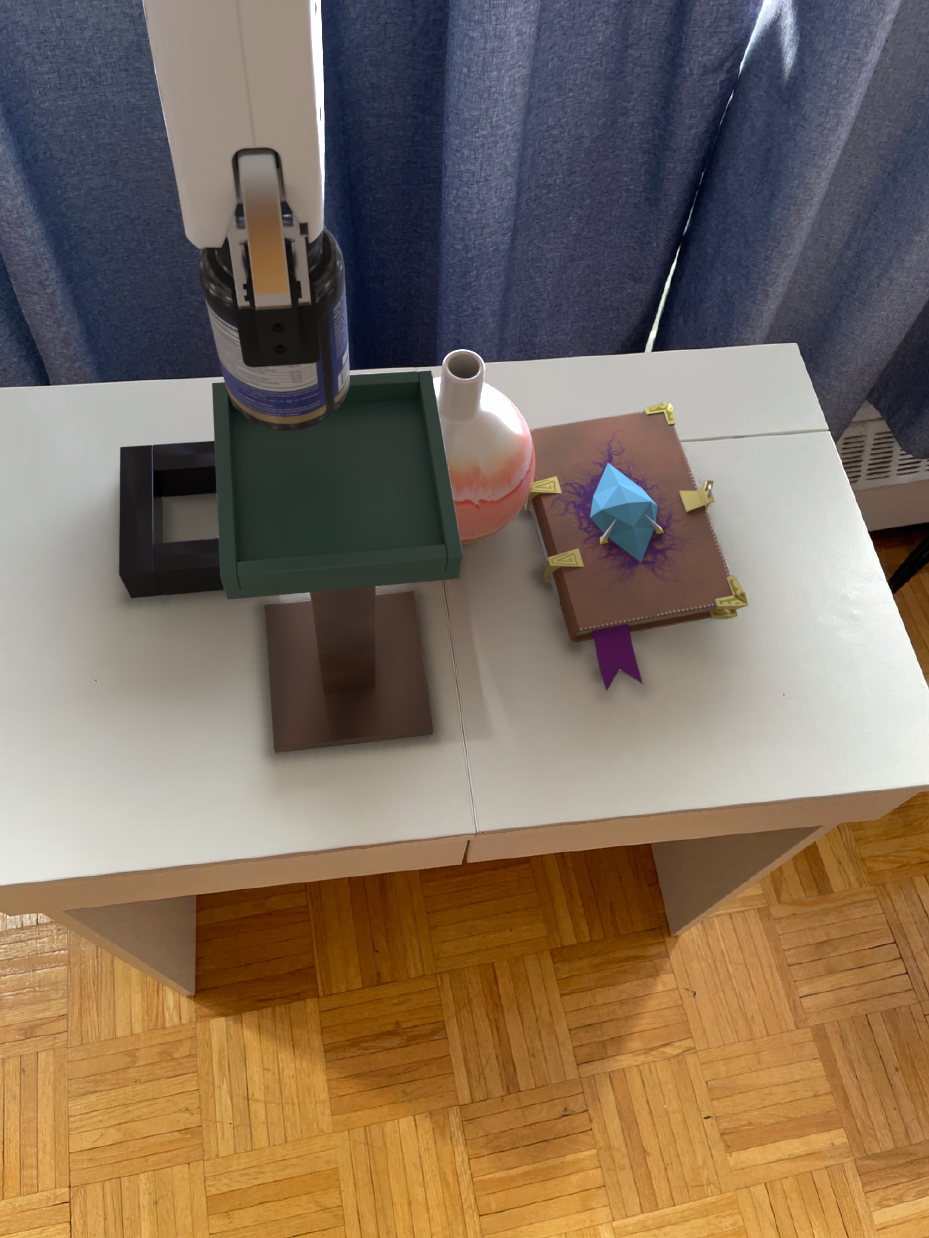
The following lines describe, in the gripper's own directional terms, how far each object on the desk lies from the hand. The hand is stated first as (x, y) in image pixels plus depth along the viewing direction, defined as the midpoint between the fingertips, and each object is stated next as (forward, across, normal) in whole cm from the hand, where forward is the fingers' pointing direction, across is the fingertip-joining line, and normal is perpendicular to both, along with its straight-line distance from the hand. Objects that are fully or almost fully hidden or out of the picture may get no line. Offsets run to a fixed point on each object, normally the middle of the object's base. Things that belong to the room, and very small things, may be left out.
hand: (275, 296), depth 41 cm
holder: (+37, -12, -8) cm, 40 cm away
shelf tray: (+12, +2, +2) cm, 12 cm away
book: (+37, -6, +27) cm, 47 cm away
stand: (+37, +2, +2) cm, 38 cm away
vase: (+38, -12, +12) cm, 41 cm away
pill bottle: (+6, 0, 0) cm, 6 cm away
